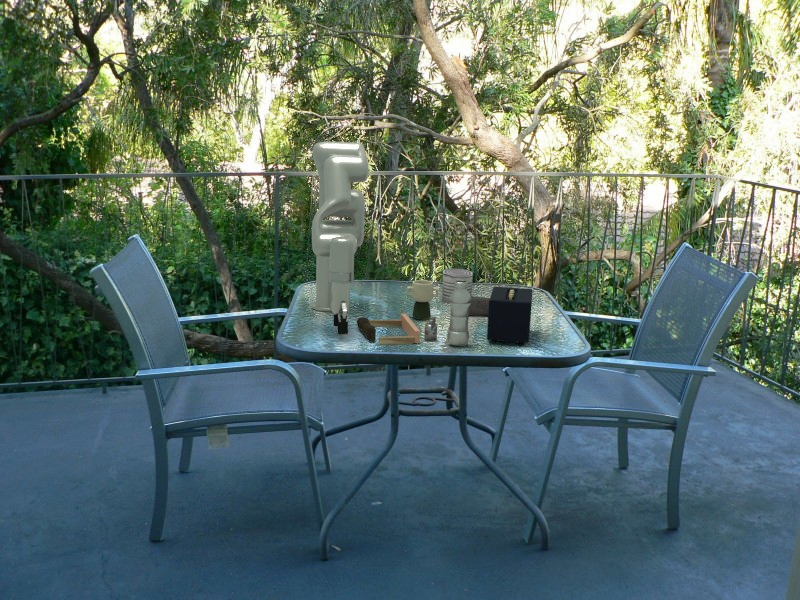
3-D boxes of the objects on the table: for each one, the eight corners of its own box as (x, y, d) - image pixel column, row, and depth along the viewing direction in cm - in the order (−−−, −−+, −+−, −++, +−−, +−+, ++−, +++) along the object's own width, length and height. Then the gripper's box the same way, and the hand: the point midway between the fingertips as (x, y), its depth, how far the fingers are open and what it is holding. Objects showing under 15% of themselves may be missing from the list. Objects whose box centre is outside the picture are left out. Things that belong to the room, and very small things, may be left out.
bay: (367, 325, 277) (368, 320, 276) (400, 325, 279) (400, 319, 278) (379, 344, 255) (379, 338, 254) (414, 343, 257) (415, 337, 256)
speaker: (491, 327, 280) (493, 283, 276) (529, 330, 277) (532, 286, 274) (486, 344, 259) (489, 297, 255) (528, 347, 257) (531, 300, 253)
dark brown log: (356, 328, 274) (356, 315, 273) (368, 328, 274) (369, 314, 273) (364, 344, 255) (364, 329, 254) (377, 344, 256) (377, 329, 255)
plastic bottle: (445, 342, 260) (448, 279, 255) (467, 342, 260) (470, 279, 256) (448, 347, 253) (451, 283, 249) (470, 348, 254) (473, 283, 250)
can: (469, 299, 322) (470, 268, 319) (473, 306, 311) (475, 274, 308) (439, 298, 321) (441, 268, 319) (443, 305, 310) (444, 273, 308)
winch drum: (422, 338, 264) (423, 312, 262) (435, 337, 264) (436, 312, 263) (427, 343, 258) (428, 317, 256) (439, 342, 259) (440, 317, 257)
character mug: (437, 317, 292) (438, 280, 289) (437, 322, 285) (438, 284, 282) (406, 315, 292) (407, 279, 289) (405, 320, 285) (406, 283, 282)
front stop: (400, 325, 279) (400, 313, 278) (405, 325, 279) (405, 313, 278) (414, 343, 257) (415, 331, 256) (419, 343, 257) (420, 331, 256)
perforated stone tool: (499, 314, 299) (500, 295, 298) (501, 317, 294) (502, 298, 293) (457, 313, 299) (458, 294, 297) (459, 316, 294) (460, 297, 292)
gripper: (326, 271, 267) (325, 323, 271) (332, 282, 250) (332, 337, 254) (349, 271, 269) (348, 323, 272) (357, 282, 252) (356, 337, 256)
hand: (340, 330), depth 263 cm, fingers open, 9 cm apart
